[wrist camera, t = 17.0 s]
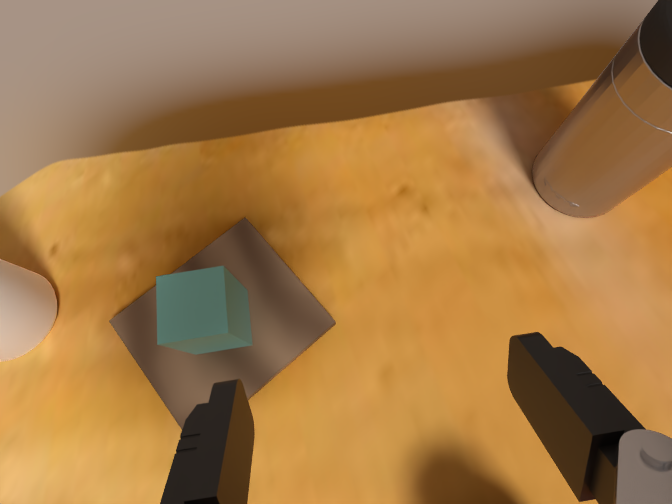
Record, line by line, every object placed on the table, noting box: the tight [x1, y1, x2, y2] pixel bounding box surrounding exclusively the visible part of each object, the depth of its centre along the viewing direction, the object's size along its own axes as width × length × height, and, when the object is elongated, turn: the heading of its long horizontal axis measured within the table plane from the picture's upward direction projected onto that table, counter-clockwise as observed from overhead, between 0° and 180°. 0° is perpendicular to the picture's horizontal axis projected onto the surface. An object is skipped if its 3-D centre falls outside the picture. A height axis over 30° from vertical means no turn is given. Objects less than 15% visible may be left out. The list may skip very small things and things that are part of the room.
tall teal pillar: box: [156, 266, 252, 355], centre depth 35 cm, size 5×5×8 cm
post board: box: [109, 218, 336, 430], centre depth 37 cm, size 16×14×7 cm
